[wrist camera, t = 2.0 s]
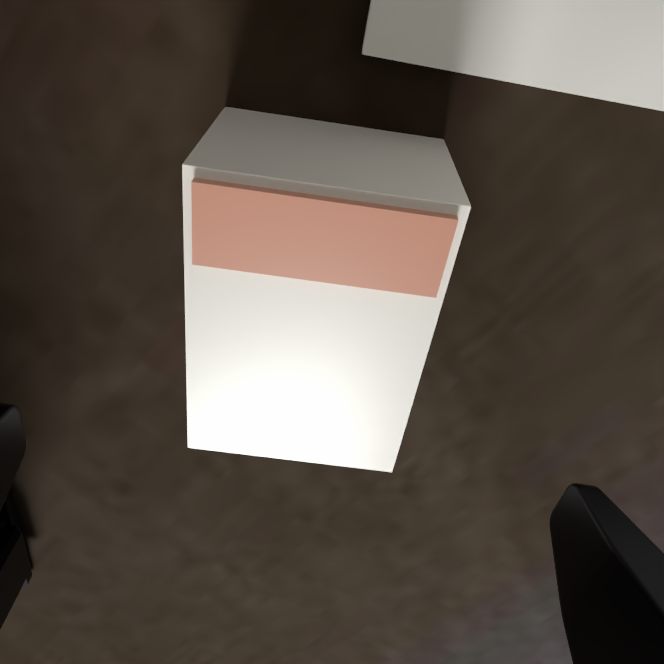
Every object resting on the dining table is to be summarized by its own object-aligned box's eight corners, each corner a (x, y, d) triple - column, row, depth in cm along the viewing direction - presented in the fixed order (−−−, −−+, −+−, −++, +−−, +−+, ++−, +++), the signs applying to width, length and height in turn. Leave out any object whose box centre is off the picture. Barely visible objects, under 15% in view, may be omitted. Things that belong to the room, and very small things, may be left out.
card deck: (220, 347, 17) (185, 454, 13) (226, 104, 13) (179, 168, 9) (385, 368, 17) (392, 478, 14) (442, 136, 13) (473, 211, 10)
